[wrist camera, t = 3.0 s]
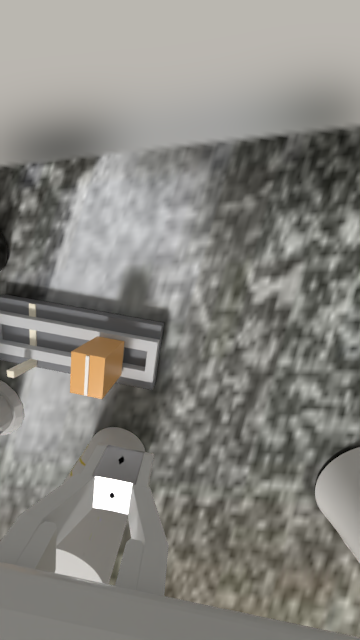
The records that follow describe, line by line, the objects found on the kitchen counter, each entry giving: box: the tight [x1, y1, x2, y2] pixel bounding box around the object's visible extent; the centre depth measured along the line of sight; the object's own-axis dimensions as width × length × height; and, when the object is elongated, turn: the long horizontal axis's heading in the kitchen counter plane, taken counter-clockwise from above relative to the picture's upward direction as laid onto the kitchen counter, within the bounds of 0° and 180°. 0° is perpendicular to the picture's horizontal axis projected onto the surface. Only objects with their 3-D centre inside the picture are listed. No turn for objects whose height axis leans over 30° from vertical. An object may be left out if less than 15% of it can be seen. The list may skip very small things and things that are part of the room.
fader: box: [70, 336, 125, 399], centre depth 19 cm, size 3×4×6 cm
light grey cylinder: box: [55, 427, 145, 584], centre depth 21 cm, size 8×8×12 cm
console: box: [0, 294, 164, 390], centre depth 21 cm, size 20×8×5 cm, turn 81°
